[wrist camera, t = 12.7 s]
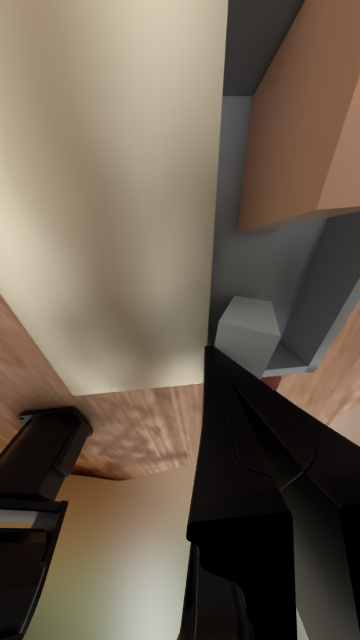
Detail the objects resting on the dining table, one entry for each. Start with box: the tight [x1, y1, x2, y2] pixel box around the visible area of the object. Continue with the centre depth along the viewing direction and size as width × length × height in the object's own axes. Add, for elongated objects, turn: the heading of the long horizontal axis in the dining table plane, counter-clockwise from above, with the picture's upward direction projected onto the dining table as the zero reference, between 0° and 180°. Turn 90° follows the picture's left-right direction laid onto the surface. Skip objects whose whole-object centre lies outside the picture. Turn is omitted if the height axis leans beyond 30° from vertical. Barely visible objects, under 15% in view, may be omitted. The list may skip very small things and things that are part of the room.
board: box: [0, 0, 228, 396], centre depth 8 cm, size 10×16×4 cm, turn 3°
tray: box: [207, 0, 360, 377], centre depth 8 cm, size 9×16×4 cm, turn 3°
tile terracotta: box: [237, 0, 360, 232], centre depth 5 cm, size 5×5×2 cm
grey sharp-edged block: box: [214, 296, 281, 380], centre depth 9 cm, size 5×5×2 cm
